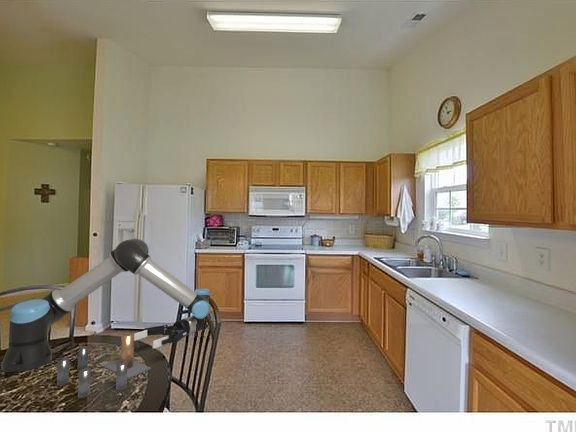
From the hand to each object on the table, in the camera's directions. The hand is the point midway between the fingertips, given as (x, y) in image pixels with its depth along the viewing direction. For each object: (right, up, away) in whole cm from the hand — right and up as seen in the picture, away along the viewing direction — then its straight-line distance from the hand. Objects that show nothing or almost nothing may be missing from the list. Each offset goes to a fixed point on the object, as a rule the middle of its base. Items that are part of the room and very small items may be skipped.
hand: (142, 341), depth 124 cm
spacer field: (-11, -8, -17) cm, 22 cm away
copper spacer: (-4, -8, -5) cm, 10 cm away
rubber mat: (-4, -8, -5) cm, 10 cm away
